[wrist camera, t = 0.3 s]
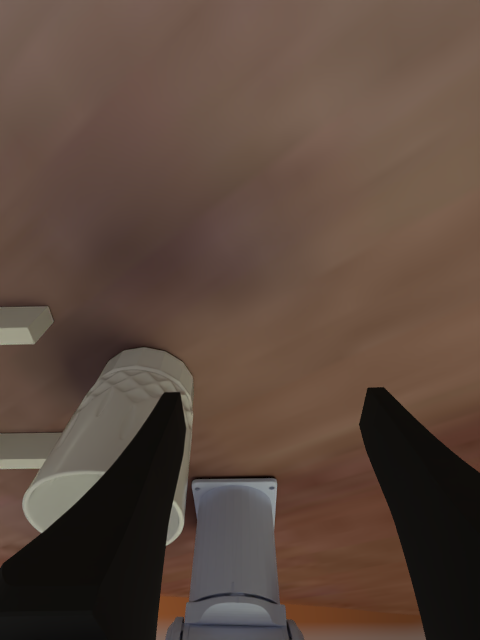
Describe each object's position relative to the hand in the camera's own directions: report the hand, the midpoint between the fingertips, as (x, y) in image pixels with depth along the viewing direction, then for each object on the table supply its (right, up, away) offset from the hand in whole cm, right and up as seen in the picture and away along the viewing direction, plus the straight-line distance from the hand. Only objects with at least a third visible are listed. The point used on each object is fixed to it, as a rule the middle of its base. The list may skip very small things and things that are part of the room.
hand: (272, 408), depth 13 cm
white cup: (-8, -1, +12) cm, 15 cm away
